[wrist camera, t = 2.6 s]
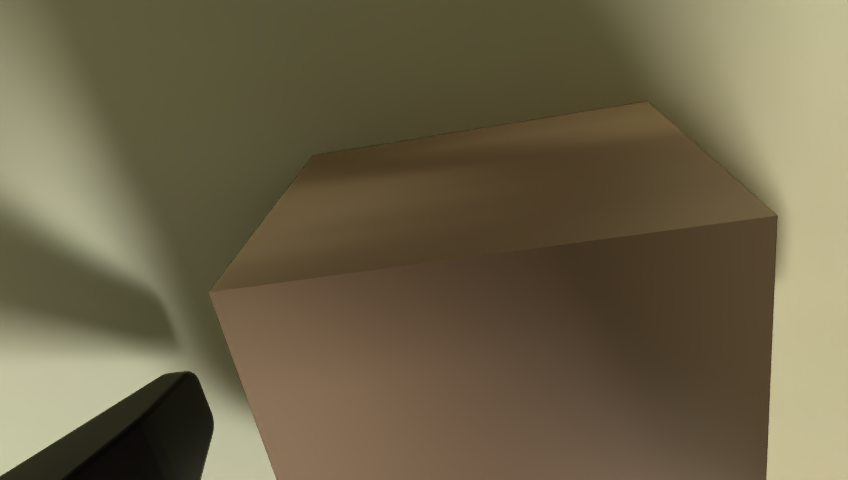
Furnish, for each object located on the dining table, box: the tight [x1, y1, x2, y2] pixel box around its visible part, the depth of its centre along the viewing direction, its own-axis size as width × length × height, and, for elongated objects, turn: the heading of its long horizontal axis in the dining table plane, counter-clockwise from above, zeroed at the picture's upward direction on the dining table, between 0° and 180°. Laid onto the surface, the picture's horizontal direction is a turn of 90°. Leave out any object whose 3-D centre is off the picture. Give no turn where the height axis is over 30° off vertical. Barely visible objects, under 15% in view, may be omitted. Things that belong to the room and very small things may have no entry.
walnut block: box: [209, 101, 777, 480], centre depth 8 cm, size 4×6×4 cm
